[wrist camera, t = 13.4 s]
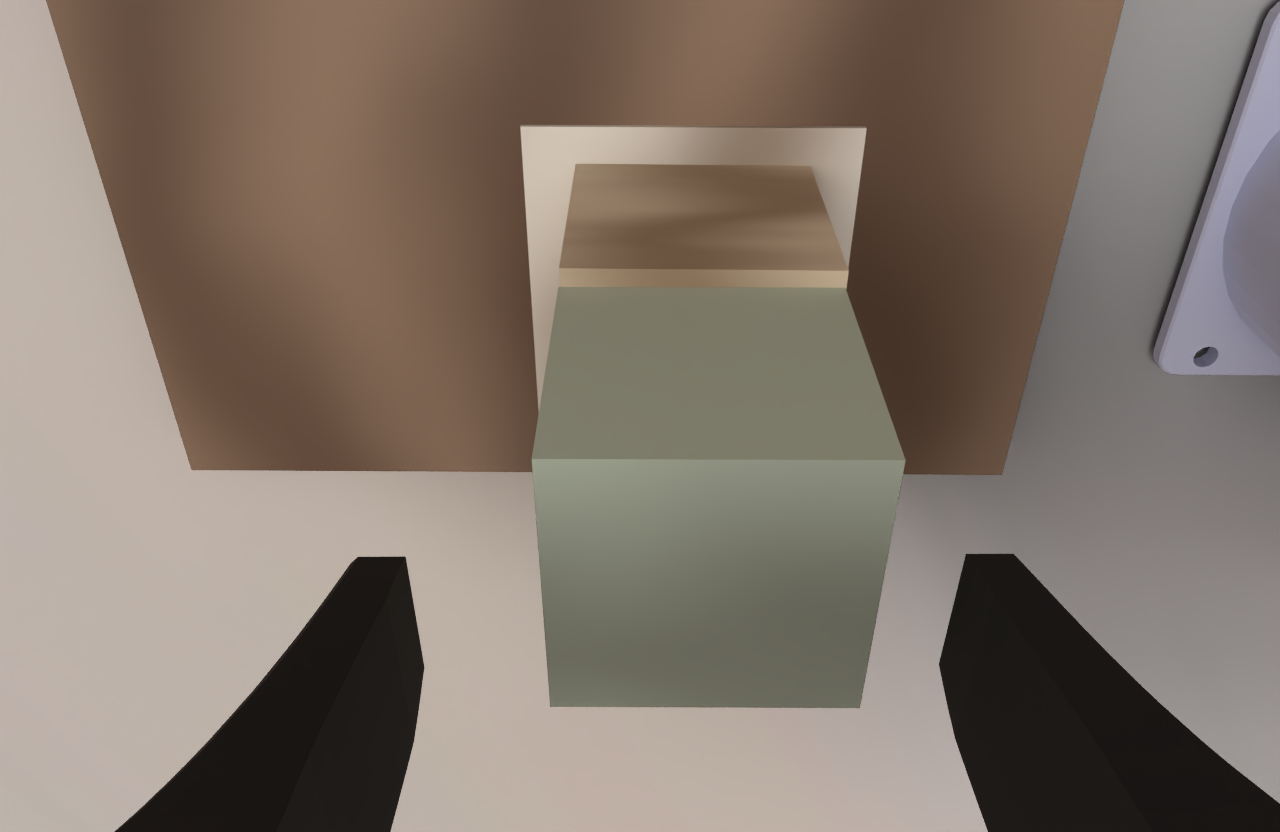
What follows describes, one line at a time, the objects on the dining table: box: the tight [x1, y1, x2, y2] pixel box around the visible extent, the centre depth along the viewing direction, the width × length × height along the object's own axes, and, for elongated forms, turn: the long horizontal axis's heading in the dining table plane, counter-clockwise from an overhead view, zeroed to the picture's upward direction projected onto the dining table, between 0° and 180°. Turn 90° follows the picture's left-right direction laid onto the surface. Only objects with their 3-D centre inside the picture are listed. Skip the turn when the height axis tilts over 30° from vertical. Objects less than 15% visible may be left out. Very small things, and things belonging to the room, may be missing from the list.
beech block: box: [559, 164, 849, 288], centre depth 19 cm, size 4×4×4 cm
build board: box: [46, 0, 1124, 475], centre depth 19 cm, size 19×20×1 cm
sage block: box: [532, 287, 906, 708], centre depth 15 cm, size 4×4×4 cm
